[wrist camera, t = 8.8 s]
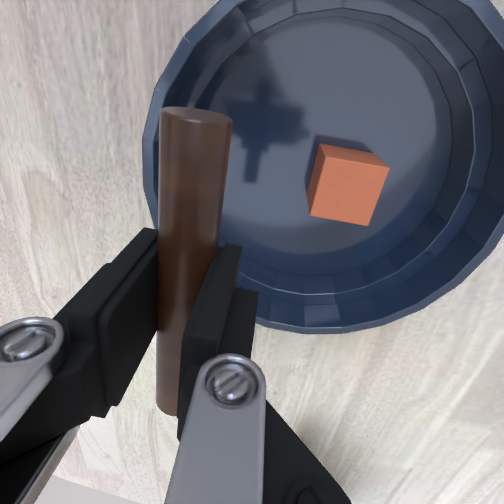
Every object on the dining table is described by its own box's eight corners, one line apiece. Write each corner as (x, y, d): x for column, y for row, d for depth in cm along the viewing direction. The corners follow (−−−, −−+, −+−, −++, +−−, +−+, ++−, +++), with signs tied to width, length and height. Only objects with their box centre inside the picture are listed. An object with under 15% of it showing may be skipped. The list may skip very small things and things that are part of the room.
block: (306, 195, 22) (309, 216, 19) (319, 143, 20) (325, 156, 17) (356, 204, 22) (368, 226, 19) (374, 153, 20) (390, 167, 17)
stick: (180, 104, 8) (144, 108, 6) (242, 117, 8) (218, 125, 6) (169, 373, 13) (147, 407, 11) (205, 386, 13) (188, 423, 11)
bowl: (170, 262, 26) (144, 305, 21) (180, -47, 16) (136, -95, 12) (401, 304, 26) (427, 357, 21) (546, 19, 16) (653, -3, 12)
